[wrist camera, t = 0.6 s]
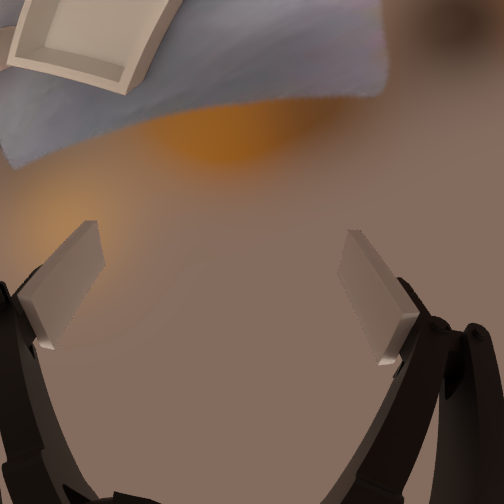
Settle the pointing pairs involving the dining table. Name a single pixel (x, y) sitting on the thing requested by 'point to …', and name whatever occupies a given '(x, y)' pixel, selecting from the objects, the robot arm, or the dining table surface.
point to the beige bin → (92, 39)
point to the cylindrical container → (5, 45)
